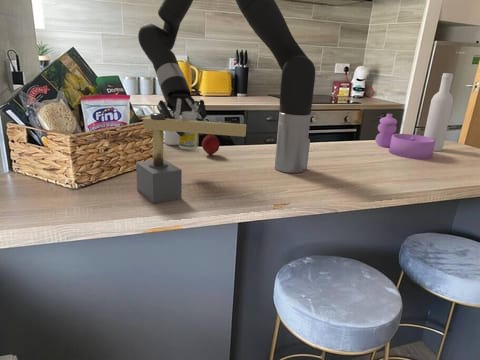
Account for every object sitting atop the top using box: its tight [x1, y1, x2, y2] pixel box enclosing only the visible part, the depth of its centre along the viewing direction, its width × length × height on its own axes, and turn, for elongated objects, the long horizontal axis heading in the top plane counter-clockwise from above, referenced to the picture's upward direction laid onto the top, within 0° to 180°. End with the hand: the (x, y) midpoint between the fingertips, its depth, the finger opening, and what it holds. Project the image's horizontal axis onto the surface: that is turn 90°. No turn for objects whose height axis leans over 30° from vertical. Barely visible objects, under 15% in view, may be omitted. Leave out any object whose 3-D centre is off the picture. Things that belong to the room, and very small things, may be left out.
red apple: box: [201, 134, 221, 156], centre depth 127 cm, size 6×6×8 cm
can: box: [163, 109, 183, 146], centre depth 139 cm, size 6×6×12 cm
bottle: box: [423, 72, 454, 152], centre depth 152 cm, size 8×8×30 cm
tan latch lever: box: [142, 112, 247, 167], centre depth 87 cm, size 23×3×12 cm, turn 84°
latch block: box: [135, 159, 183, 204], centre depth 90 cm, size 7×10×7 cm
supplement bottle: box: [178, 111, 200, 150], centre depth 104 cm, size 5×5×10 cm
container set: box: [375, 113, 436, 160], centre depth 148 cm, size 25×15×13 cm, turn 24°
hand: (192, 133), depth 103 cm, fingers closed on supplement bottle, 5 cm apart
